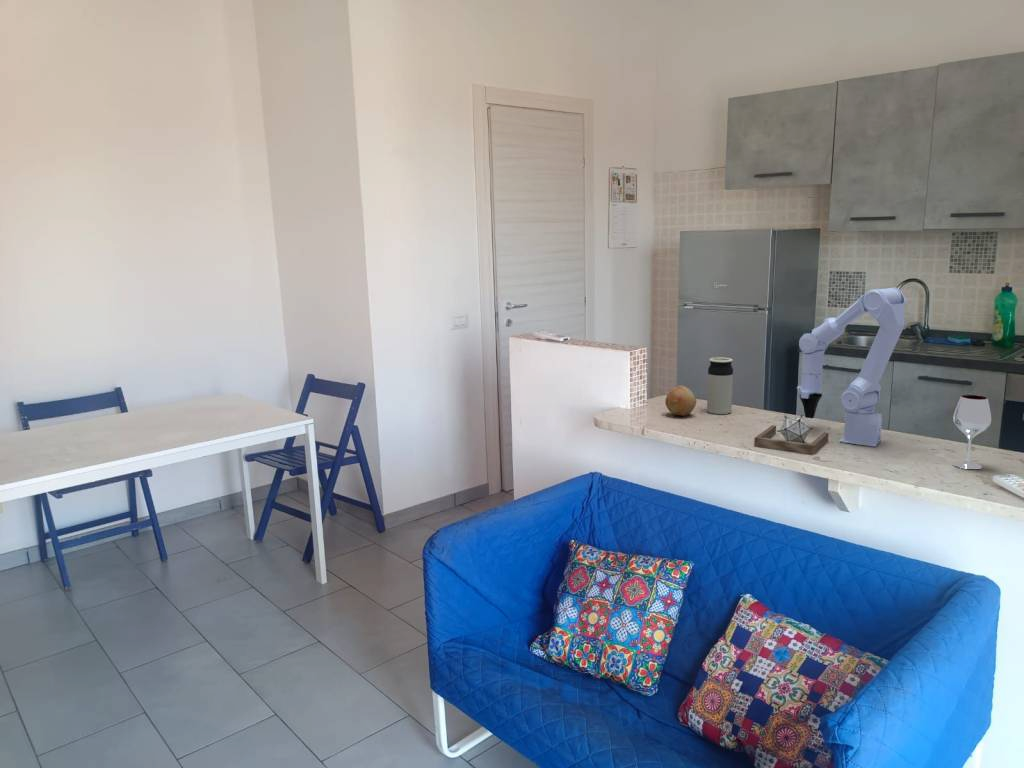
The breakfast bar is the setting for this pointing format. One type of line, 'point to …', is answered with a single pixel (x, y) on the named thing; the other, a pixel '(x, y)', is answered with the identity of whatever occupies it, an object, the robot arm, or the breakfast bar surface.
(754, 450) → the breakfast bar surface
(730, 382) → the travel mug
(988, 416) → the wineglass
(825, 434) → the u-shaped wooden tray
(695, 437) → the breakfast bar surface
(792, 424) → the game die
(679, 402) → the onion
